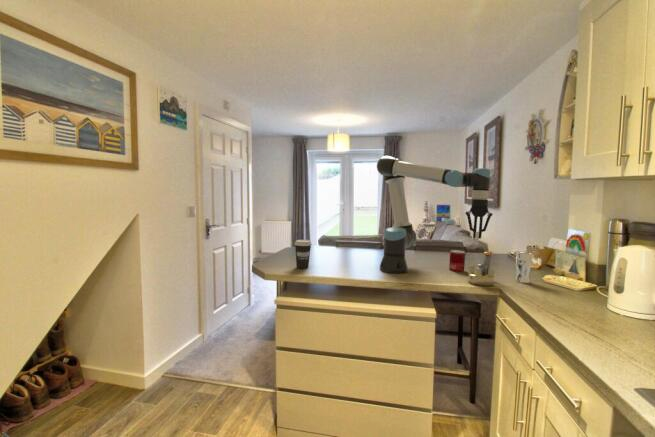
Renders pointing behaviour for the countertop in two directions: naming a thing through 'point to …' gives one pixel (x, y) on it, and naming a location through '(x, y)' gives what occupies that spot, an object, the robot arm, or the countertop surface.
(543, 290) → the countertop surface
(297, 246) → the coffee cup
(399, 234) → the robot arm
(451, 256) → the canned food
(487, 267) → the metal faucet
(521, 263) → the beer glass
